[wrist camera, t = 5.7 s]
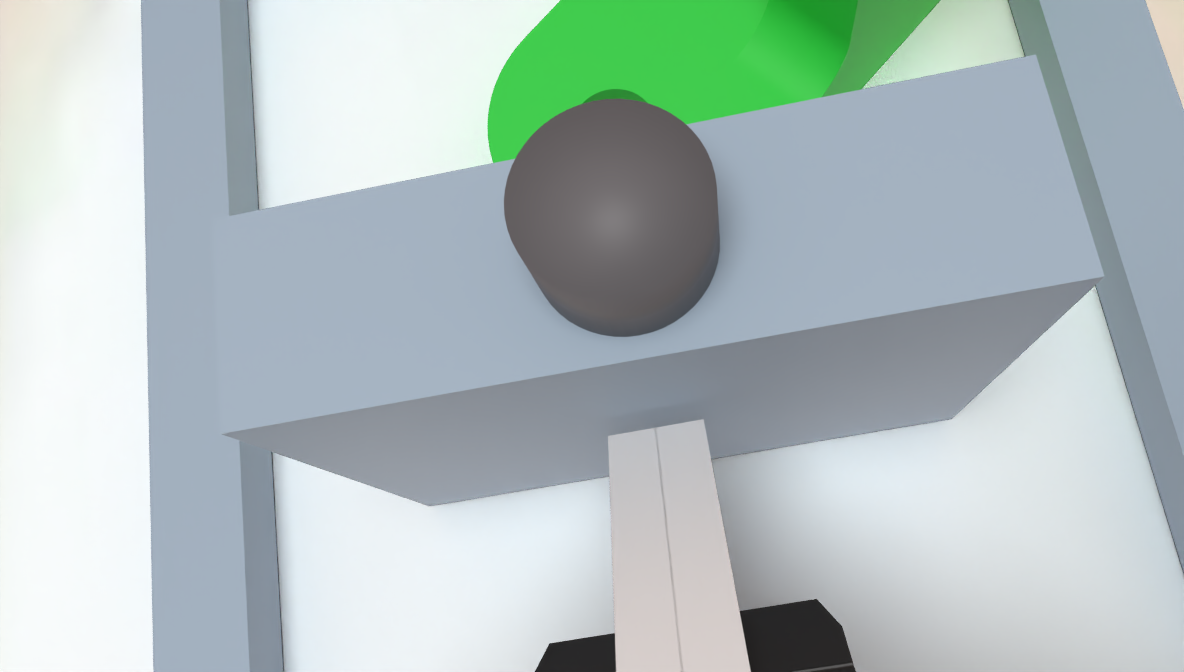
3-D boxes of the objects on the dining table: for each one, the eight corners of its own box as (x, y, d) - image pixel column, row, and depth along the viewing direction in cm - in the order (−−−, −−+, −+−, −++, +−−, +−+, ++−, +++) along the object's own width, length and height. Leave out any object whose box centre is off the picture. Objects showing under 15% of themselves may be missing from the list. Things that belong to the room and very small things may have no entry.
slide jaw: (916, 278, 21) (1074, -27, 11) (951, 418, 20) (1159, 226, 10) (415, 369, 22) (144, 166, 12) (429, 506, 21) (150, 409, 11)
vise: (990, -338, 25) (1035, -508, 21) (1327, 653, 18) (1479, 663, 15) (169, -142, 27) (76, -265, 24) (197, 811, 21) (72, 857, 17)
